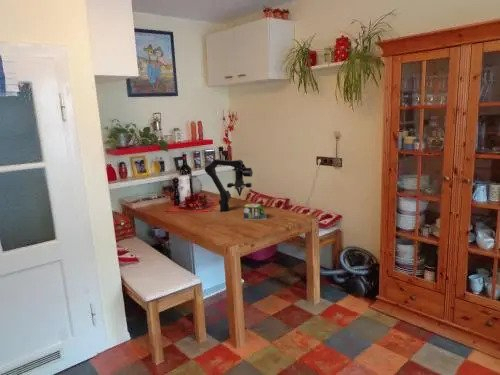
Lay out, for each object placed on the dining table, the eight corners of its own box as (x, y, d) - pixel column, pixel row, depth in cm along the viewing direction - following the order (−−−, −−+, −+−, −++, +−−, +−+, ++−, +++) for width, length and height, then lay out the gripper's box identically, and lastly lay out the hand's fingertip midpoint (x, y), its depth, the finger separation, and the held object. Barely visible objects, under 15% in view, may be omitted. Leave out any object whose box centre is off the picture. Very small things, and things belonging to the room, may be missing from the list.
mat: (244, 220, 267) (244, 219, 267) (245, 214, 282) (245, 213, 282) (266, 219, 266) (266, 219, 266) (266, 213, 281) (266, 213, 281)
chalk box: (246, 215, 278) (266, 216, 274) (243, 218, 269) (263, 219, 266) (246, 203, 276) (265, 204, 272) (243, 206, 267) (263, 207, 264)
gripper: (225, 178, 278) (226, 198, 281) (249, 178, 276) (250, 198, 279) (227, 175, 289) (228, 195, 292) (251, 175, 287) (252, 195, 290)
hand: (239, 195), depth 288 cm, fingers closed
